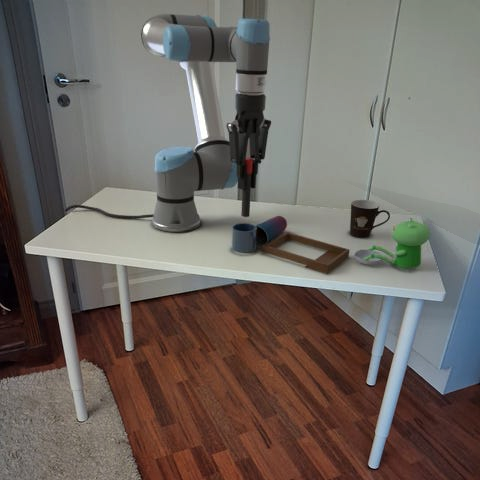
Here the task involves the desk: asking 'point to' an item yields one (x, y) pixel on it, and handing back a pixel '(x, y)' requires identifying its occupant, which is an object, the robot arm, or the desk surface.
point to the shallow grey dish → (365, 253)
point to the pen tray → (321, 264)
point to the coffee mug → (364, 217)
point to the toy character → (405, 244)
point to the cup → (270, 229)
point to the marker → (247, 189)
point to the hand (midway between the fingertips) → (246, 187)
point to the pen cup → (244, 237)
